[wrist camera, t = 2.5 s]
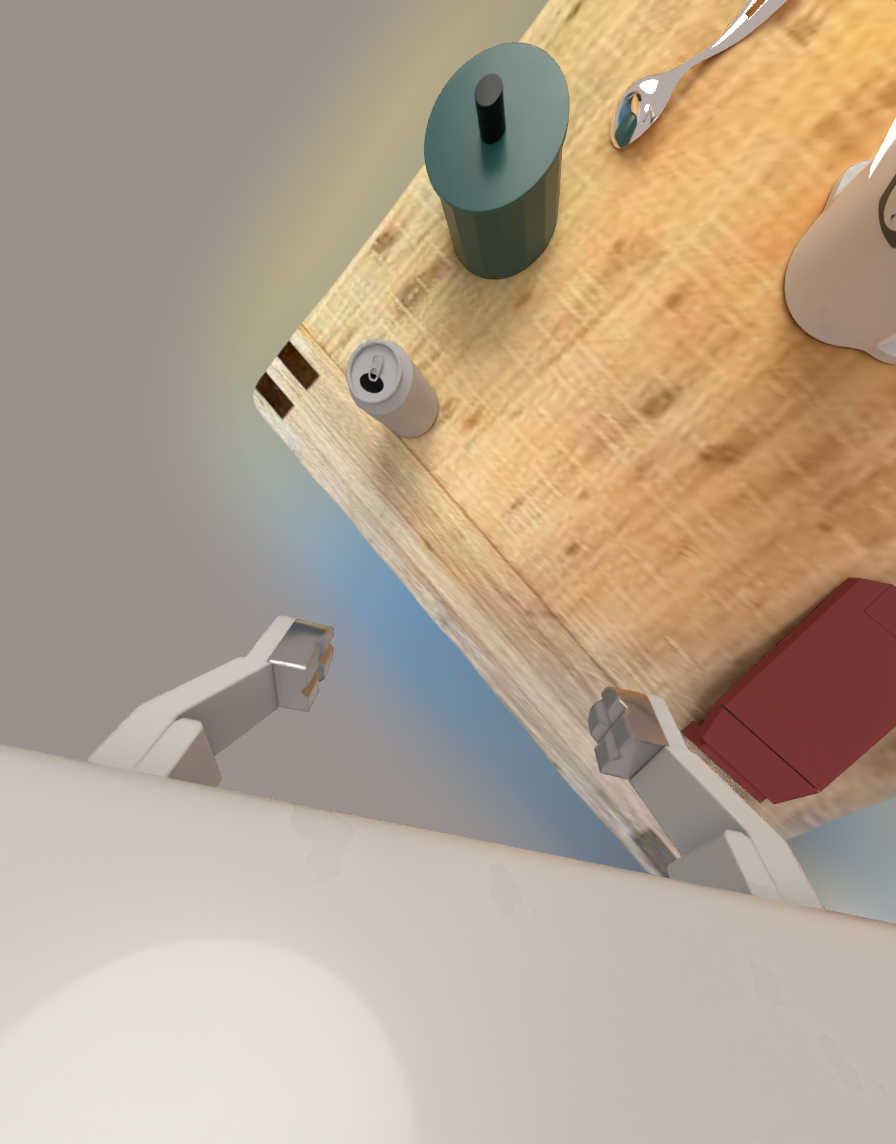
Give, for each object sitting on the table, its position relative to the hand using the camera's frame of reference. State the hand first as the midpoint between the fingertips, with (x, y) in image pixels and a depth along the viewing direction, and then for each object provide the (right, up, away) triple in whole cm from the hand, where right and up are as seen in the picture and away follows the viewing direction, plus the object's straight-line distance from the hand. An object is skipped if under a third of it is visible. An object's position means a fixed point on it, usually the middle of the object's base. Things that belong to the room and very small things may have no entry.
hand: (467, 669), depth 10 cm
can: (-5, +25, +37) cm, 45 cm away
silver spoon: (+26, +55, +26) cm, 66 cm away
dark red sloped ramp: (+39, -10, +29) cm, 50 cm away
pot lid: (+4, +44, +22) cm, 49 cm away
